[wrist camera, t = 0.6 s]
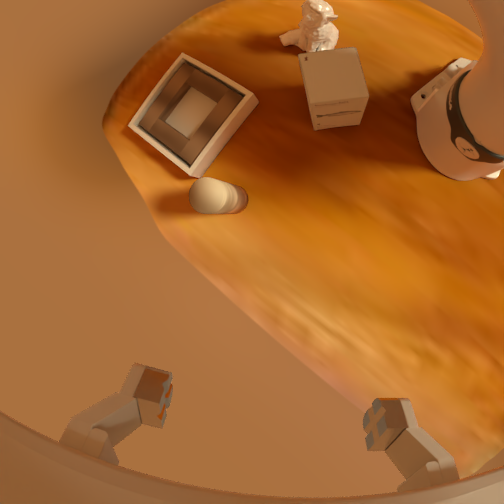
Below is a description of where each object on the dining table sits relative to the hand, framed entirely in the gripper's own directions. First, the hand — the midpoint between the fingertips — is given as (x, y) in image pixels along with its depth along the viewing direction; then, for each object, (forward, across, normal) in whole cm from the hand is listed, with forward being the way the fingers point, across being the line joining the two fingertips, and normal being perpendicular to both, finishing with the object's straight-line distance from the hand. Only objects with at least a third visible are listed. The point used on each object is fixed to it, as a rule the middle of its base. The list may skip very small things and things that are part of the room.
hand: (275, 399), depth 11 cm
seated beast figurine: (+46, -3, -22) cm, 52 cm away
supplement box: (+42, -7, -12) cm, 44 cm away
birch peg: (+40, +6, +5) cm, 40 cm away
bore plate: (+45, +15, -7) cm, 48 cm away
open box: (+45, +15, -7) cm, 48 cm away
